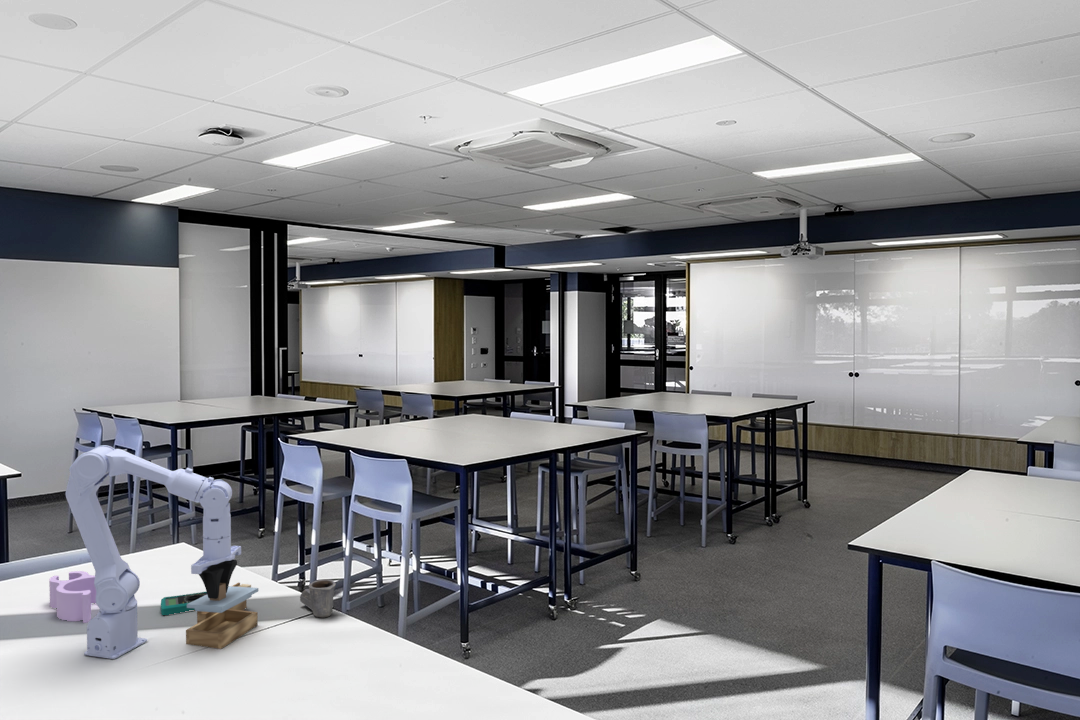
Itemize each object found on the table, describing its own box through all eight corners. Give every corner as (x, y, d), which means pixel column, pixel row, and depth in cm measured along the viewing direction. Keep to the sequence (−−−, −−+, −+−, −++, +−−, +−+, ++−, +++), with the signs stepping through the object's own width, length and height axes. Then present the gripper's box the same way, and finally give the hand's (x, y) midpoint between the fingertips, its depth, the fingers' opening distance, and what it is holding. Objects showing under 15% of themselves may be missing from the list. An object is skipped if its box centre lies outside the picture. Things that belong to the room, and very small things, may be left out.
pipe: (315, 602, 188) (315, 571, 188) (341, 616, 180) (341, 584, 179) (292, 608, 184) (292, 577, 184) (319, 623, 175) (318, 590, 175)
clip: (35, 608, 183) (34, 580, 182) (88, 593, 193) (88, 567, 193) (74, 627, 172) (74, 598, 171) (128, 610, 182) (128, 582, 182)
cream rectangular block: (238, 599, 178) (238, 591, 178) (229, 598, 178) (229, 590, 178) (251, 591, 183) (251, 584, 183) (242, 590, 183) (242, 583, 183)
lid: (222, 614, 160) (221, 591, 160) (186, 612, 162) (186, 589, 162) (258, 595, 173) (258, 574, 173) (225, 593, 175) (224, 572, 175)
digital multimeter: (227, 608, 185) (227, 596, 185) (161, 618, 178) (161, 606, 178) (224, 598, 192) (224, 587, 191) (160, 608, 184) (160, 596, 184)
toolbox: (221, 648, 161) (221, 620, 161) (177, 643, 163) (176, 615, 163) (278, 612, 182) (278, 586, 181) (238, 607, 184) (238, 582, 184)
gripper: (210, 546, 157) (211, 609, 158) (252, 528, 171) (252, 586, 172) (182, 543, 159) (183, 605, 159) (226, 526, 173) (226, 583, 173)
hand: (217, 595), depth 166 cm, fingers closed on lid, 2 cm apart
